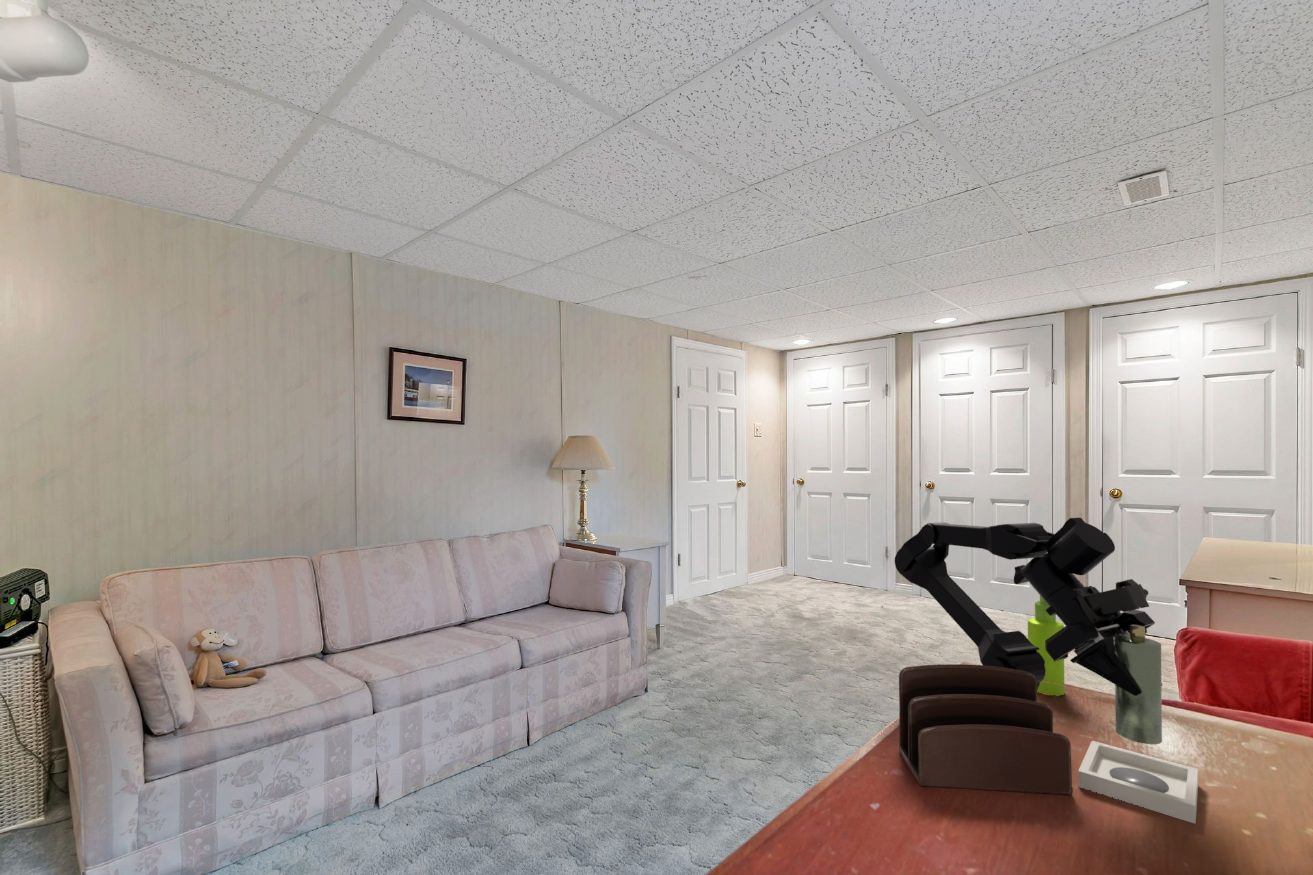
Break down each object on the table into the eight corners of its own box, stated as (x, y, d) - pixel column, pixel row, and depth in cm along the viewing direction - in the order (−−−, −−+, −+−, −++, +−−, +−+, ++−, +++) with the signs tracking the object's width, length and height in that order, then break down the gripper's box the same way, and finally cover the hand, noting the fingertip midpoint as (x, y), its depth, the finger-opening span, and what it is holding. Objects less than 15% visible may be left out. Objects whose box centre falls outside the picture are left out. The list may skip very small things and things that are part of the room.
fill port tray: (1078, 786, 83) (1078, 770, 83) (1092, 755, 92) (1091, 740, 92) (1195, 823, 75) (1195, 805, 75) (1198, 784, 84) (1197, 768, 84)
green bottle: (1106, 727, 86) (1105, 621, 86) (1137, 726, 86) (1137, 620, 87) (1138, 745, 81) (1138, 632, 81) (1171, 743, 81) (1170, 631, 82)
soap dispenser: (1076, 697, 113) (1075, 590, 114) (1035, 694, 115) (1034, 588, 115) (1062, 685, 119) (1060, 583, 119) (1023, 683, 120) (1022, 582, 121)
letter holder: (898, 752, 93) (897, 659, 93) (1035, 759, 91) (1034, 665, 91) (919, 787, 83) (918, 684, 83) (1073, 797, 81) (1072, 691, 81)
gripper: (1066, 566, 83) (1164, 674, 73) (1138, 556, 92) (1234, 651, 82) (1011, 610, 90) (1093, 714, 80) (1082, 596, 99) (1164, 689, 89)
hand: (1149, 690), depth 82 cm, fingers closed on green bottle, 5 cm apart
